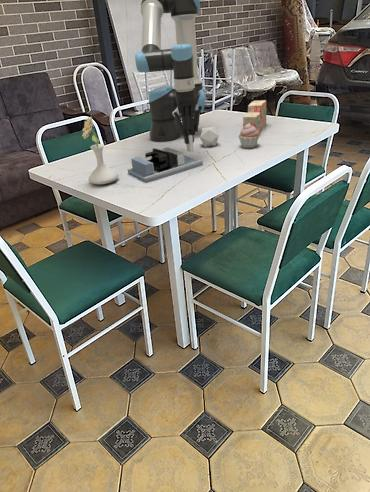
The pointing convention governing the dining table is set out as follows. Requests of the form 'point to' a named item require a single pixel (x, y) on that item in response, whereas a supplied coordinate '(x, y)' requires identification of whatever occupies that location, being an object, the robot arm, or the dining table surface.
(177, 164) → the block
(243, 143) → the cupcake
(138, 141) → the dining table surface
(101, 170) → the flower in vase
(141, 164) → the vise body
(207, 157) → the dining table surface
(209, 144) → the die
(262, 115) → the stack of blocks
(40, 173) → the dining table surface
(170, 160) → the end cap
